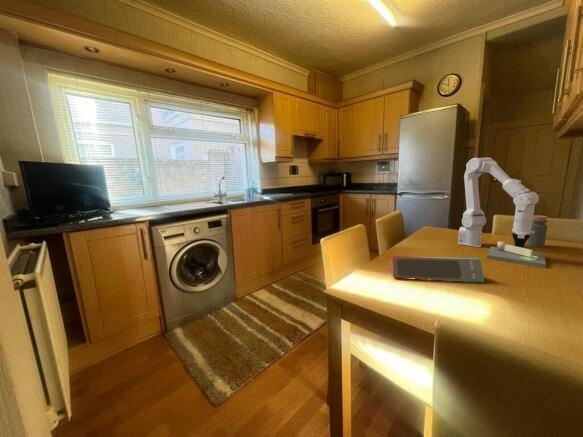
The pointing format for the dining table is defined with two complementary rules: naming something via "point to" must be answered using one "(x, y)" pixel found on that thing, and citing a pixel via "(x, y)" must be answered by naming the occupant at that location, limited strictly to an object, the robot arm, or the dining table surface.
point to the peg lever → (514, 249)
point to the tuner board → (517, 257)
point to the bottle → (538, 232)
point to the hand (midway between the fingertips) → (518, 250)
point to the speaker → (437, 268)
